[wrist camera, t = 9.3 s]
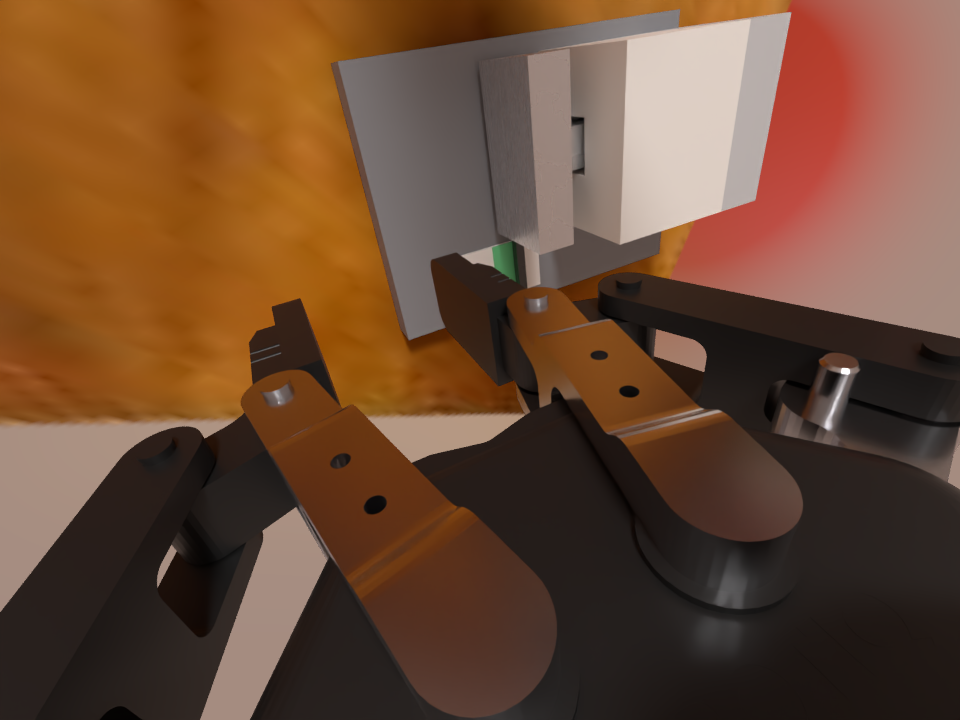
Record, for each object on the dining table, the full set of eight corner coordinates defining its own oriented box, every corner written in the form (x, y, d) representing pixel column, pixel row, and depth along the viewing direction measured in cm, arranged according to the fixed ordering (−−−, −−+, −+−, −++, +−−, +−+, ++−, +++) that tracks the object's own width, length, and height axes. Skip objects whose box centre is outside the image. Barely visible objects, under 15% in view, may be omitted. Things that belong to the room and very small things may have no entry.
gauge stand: (330, 63, 26) (376, 51, 18) (657, 13, 32) (795, -12, 24) (400, 329, 35) (450, 397, 27) (642, 247, 42) (738, 283, 34)
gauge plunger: (478, 61, 26) (527, 55, 22) (637, 34, 30) (707, 25, 25) (506, 303, 35) (545, 333, 31) (627, 262, 38) (678, 283, 34)
